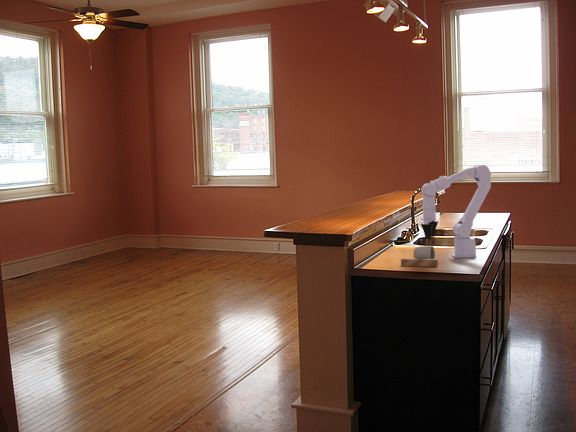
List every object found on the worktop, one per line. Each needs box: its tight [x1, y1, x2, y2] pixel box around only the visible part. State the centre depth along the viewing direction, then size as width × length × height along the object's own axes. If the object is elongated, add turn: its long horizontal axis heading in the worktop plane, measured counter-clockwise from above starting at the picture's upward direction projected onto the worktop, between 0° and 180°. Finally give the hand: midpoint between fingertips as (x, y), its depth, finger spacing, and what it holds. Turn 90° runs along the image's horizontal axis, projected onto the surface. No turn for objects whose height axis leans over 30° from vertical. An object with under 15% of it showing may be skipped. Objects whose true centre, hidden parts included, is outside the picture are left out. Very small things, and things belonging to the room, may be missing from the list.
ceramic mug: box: [413, 245, 436, 259], centre depth 293 cm, size 11×8×8 cm
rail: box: [400, 257, 439, 268], centre depth 287 cm, size 16×2×3 cm, turn 64°
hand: (430, 237), depth 305 cm, fingers open, 7 cm apart
